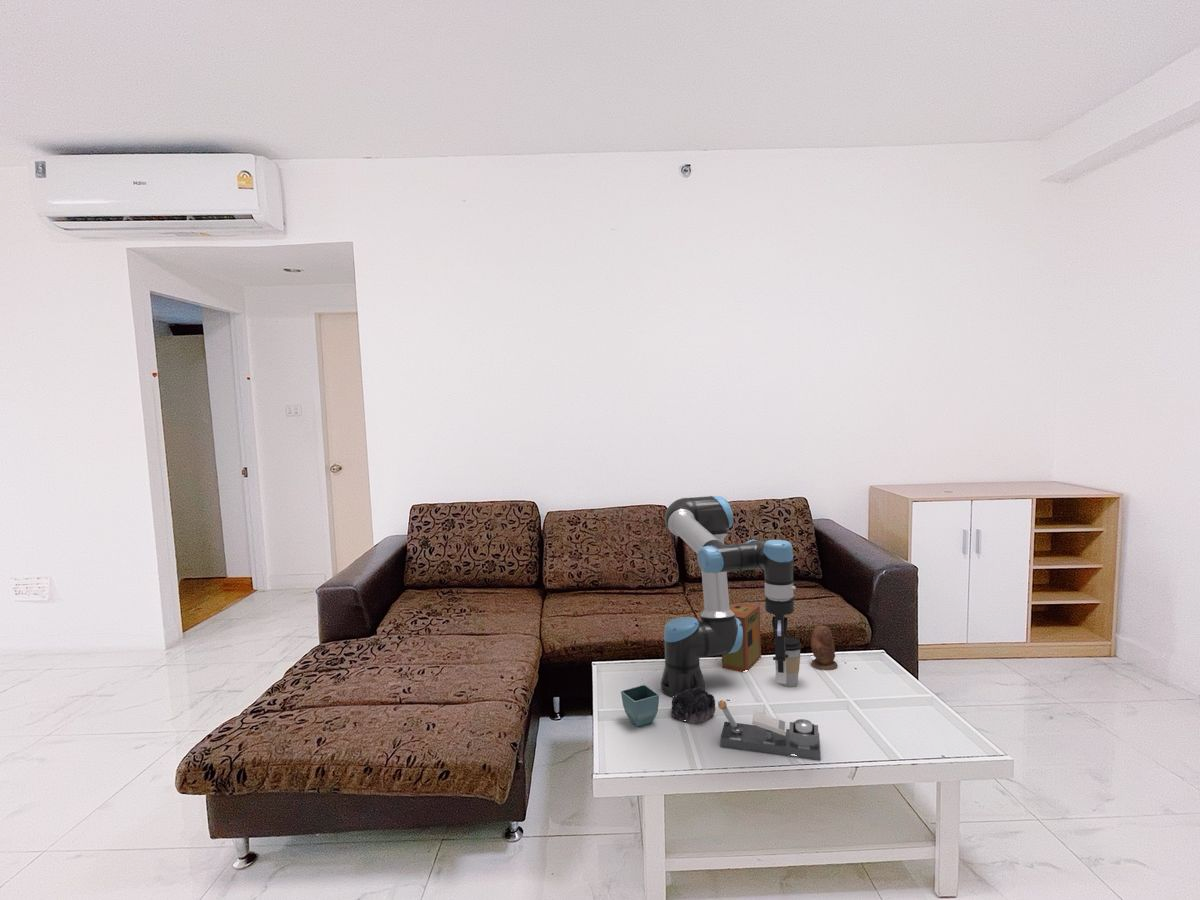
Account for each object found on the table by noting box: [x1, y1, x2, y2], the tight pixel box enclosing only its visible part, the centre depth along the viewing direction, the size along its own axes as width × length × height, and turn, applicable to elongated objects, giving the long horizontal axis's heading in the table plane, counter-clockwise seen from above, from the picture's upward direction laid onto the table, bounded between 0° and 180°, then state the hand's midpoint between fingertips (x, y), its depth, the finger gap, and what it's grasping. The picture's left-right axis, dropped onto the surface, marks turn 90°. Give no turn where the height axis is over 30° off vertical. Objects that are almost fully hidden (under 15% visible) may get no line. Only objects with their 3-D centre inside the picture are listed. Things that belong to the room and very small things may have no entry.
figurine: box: [810, 624, 838, 671], centre depth 220 cm, size 9×10×15 cm
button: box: [794, 718, 813, 735], centre depth 164 cm, size 4×4×4 cm
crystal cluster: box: [671, 686, 717, 725], centre depth 186 cm, size 13×14×10 cm
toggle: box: [717, 699, 737, 728], centre depth 170 cm, size 2×2×8 cm
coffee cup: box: [772, 635, 803, 688], centre depth 206 cm, size 9×9×15 cm
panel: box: [719, 721, 821, 761], centre depth 167 cm, size 26×10×5 cm, turn 71°
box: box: [721, 602, 762, 673], centre depth 225 cm, size 17×9×20 cm, turn 147°
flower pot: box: [620, 684, 660, 727], centre depth 182 cm, size 9×9×9 cm
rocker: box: [751, 710, 788, 736], centre depth 167 cm, size 9×6×1 cm, turn 71°
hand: (781, 682), depth 165 cm, fingers closed
